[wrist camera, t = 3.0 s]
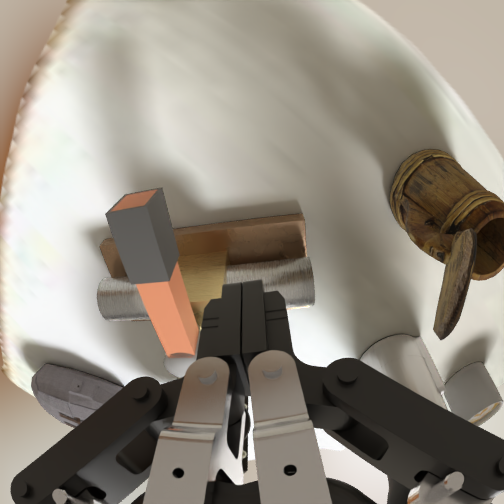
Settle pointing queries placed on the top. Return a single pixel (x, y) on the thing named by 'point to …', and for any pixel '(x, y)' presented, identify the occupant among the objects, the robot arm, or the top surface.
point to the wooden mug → (449, 226)
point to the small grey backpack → (71, 393)
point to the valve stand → (221, 265)
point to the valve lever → (156, 273)
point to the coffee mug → (473, 394)
